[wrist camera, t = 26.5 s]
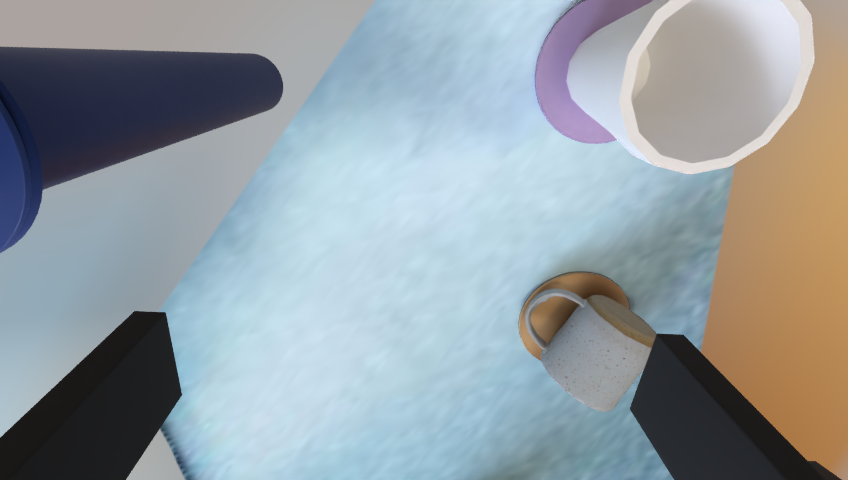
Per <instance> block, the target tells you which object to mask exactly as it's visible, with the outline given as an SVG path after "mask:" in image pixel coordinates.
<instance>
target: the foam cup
mask: <svg viewBox="0 0 848 480" xmlns="http://www.w3.org/2000/svg"><path fill="white" fill-rule="evenodd" d="M814 61H815V58H814V44H813V30H812V16H811V14H810V13H809V12H808V10H807V9H806V8H805V6H804V5H803V3H802V2H801V1H800V0H653V1H652V2H650V3H649V4H647V5H645V6H643V7H641V8H639V9H637V10H635V11H633V12H632V13H630V14H628V15H626V16H624V17H622V18H620V19H618V20H616V21H615V22H613V23H611V24H609V25H607V26H605V27H603V28H601V29H599V30H598V31H596V32H595V33H594V34H592V35H591V36H590V37H588V38H587V39H586V40H584V41H583V42H582V43H580V44H579V46H578V48H577V49H576V51H575V53H574V54H573V56H572V58H571V60H570V61H569V66H568V73H567V80H566V82H567V85H568V89H569V92H570V96H571V99H572V100H573V101H574V102H575V103H576V104H577V105H578V106H579V107H580V108H581V109H582V110H583V111H584V112H585V113H587V114H588V115H589V116H590V117H592V118H593V119H594V120H595V121H597V122H598V123H599V124H600V125H601V126H603V127H604V128H605V129H606V130H608V131H609V132H610V133H611V134H612V135H613V136H614V137H615V138H616V139H617V140H618V141H619V142H620V143H621V144H622V145H623V146H624V147H625V148H626V149H627V150H628V151H629V152H630V153H631V154H632V155H633V156H634V157H637V158H639V159H641V160H643V161H645V162H648V163H650V164H652V165H655V166H658V167H662V168H666V169H670V170H673V171H677V172H681V173H685V174H688V175H690V174H695V173H700V172H706V171H711V170H716V169H721V168H726V167H730V166H732V165H733V164H735V163H736V162H738V161H739V160H741V159H743V158H744V157H746V156H748V155H749V154H751V153H752V152H754V151H756V150H757V149H759V148H760V147H762V146H763V145H765V144H767V143H768V142H769V141H770V140H771V138H772V137H773V136H774V135H775V134H776V132H777V131H778V130H779V129H780V128H781V126H782V125H783V124H784V123H785V121H786V120H787V119H788V118H789V117H790V115H791V114H792V113H793V112H794V110H795V109H796V108H797V107H798V106H799V103H800V100H801V97H802V94H803V92H804V89H805V86H806V83H807V81H808V78H809V75H810V72H811V69H812V66H813V64H814Z"/></svg>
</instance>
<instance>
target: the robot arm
mask: <svg viewBox="0 0 848 480" xmlns="http://www.w3.org/2000/svg"><path fill="white" fill-rule="evenodd" d="M181 396H182V393H181V388H180V383H179V378H178V373H177V368H176V362H175V357H174V352H173V347H172V342H171V337H170V332H169V327H168V322H167V317H166V313H165V312H139V311H134V312H133V313H132V314H131V315H130V316H129V317H128V318H127V319H126V320H125V321H124V322H123V323H122V324H121V325H119V326H118V327H117V328H116V329H115V330H114V331H113V332H112V333H111V334H110V335H109V336H108V337H107V338H106V339H105V340H103V341H102V342H101V343H100V344H99V345H98V346H97V347H96V348H95V349H94V350H93V351H92V352H91V353H90V354H89V355H88V356H87V357H85V358H84V359H83V360H82V361H81V362H80V363H79V364H78V365H77V366H76V367H75V368H74V369H73V370H72V371H71V372H70V373H68V374H67V375H66V376H65V377H64V378H63V379H62V380H61V381H60V382H59V383H58V384H57V385H56V386H55V387H54V388H53V389H51V391H49V392H48V393H47V394H46V395H45V396H44V397H43V398H42V399H41V400H40V401H39V402H38V403H37V404H36V405H34V407H32V408H31V409H30V410H29V411H28V412H27V413H26V414H25V415H24V416H23V417H22V418H21V419H20V420H19V421H18V422H16V423H15V424H14V425H13V426H12V427H11V428H10V429H9V430H8V431H7V432H6V433H5V434H4V435H3V436H2V437H1V438H0V480H126V478H127V477H128V476H129V474H130V473H131V471H132V470H133V468H134V466H135V465H136V463H137V462H138V461H139V459H140V458H141V456H142V455H143V453H144V451H145V450H146V448H147V447H148V445H149V444H150V442H151V441H152V439H153V438H154V436H155V435H156V433H157V432H158V430H159V429H160V427H161V426H162V424H163V423H164V421H165V420H166V418H167V417H168V415H169V414H170V412H171V411H172V409H173V408H174V406H175V405H176V403H177V402H178V400H179V399H180V397H181ZM630 410H631V412H632V413H633V415H634V416H635V418H636V420H637V421H638V423H639V424H640V426H641V428H642V429H643V431H644V432H645V434H646V436H647V437H648V439H649V440H650V442H651V443H652V445H653V447H654V448H655V450H656V451H657V453H658V455H659V456H660V458H661V459H662V461H663V463H664V464H665V466H666V467H667V469H668V471H669V472H670V474H671V475H672V477H673V479H674V480H841V479H840V478H838V477H837V476H836V475H834V474H833V473H831V472H830V471H829V470H827V469H826V468H824V467H823V466H822V465H820V464H819V463H817V462H816V461H807V460H806V459H805V458H804V457H803V456H802V455H801V454H800V453H799V452H798V451H797V450H796V449H795V448H794V447H793V446H792V445H791V444H790V443H789V442H788V441H787V440H786V439H785V438H784V437H783V436H782V435H781V434H780V433H779V432H778V431H777V430H776V429H775V428H774V427H773V426H772V425H771V424H770V422H769V421H768V420H767V419H766V418H765V417H764V416H763V415H762V414H761V413H760V412H759V411H757V409H756V408H755V407H754V406H753V405H752V404H751V403H750V402H749V401H748V400H747V399H746V398H745V397H744V396H743V395H742V394H741V393H740V392H739V391H738V390H737V389H736V388H735V387H734V386H733V385H732V384H731V383H730V382H729V381H728V380H727V379H726V378H725V377H724V376H723V375H722V374H721V373H720V372H719V371H718V370H717V369H716V368H715V367H714V366H713V365H712V364H711V363H710V362H709V361H708V359H706V358H705V356H704V355H703V354H702V353H701V352H700V351H699V350H698V349H697V348H696V347H695V346H694V345H693V344H692V343H691V342H690V341H689V340H688V339H687V338H686V337H685V336H684V335H674V334H657V335H656V337H655V340H654V343H653V346H652V349H651V351H650V354H649V357H648V360H647V362H646V365H645V368H644V371H643V374H642V376H641V379H640V382H639V385H638V388H637V390H636V393H635V396H634V399H633V401H632V404H631V407H630Z"/></svg>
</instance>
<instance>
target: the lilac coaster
mask: <svg viewBox="0 0 848 480" xmlns="http://www.w3.org/2000/svg"><path fill="white" fill-rule="evenodd" d="M650 2H652V1H651V0H584V1H583V2H581V3H579V4H577V5H576V6H574V7H573V8H572V9H570V10H569V11H568V12H567V13H566V14H565V15H564V16H563V17H562V18H560V20H559V21H558V22H557V23H556V24H555V26H554V27H553V28H552V30H551V31H550V33H549V34H548V36H547V38H546V40H545V42H544V44H543V46H542V48H541V51H540V54H539V57H538V61H537V65H536V73H535V87H536V94H537V98H538V102H539V105H540V107H541V110H542V112H543V114H544V115H545V117H546V119H547V120H548V121H549V122H550V124H551V125H552V126H553V127H554V128H555V129H556V130H558V131H559V132H560V133H562V134H563V135H565V136H567V137H569V138H571V139H573V140H576V141H579V142H584V143H596V144H598V143H607V142H611V141H615V140H617V139H616V138H615V137H614V136H613V135H612V134H611V133H610V132H609V131H608V130H606V129H605V128H604V127H603V126H601V125H600V124H599V123H598V122H597V121H595V120H594V119H593V118H592V117H590V116H589V115H588V114H587V113H585V112H584V111H583V110H582V109H581V108H580V107H579V106H578V105H577V104H576V103H575V102H574V101H573V100H572V99H571V96H570V92H569V89H568V85H567V82H566V80H567V73H568V66H569V61H570V60H571V58H572V56H573V54H574V53H575V51H576V49H577V48H578V46H579V44H580V43H582V42H583V41H584V40H586V39H587V38H588V37H590V36H591V35H592V34H594V33H595V32H596V31H598V30H599V29H601V28H603V27H605V26H607V25H609V24H611V23H613V22H615V21H616V20H618V19H620V18H622V17H624V16H626V15H628V14H630V13H632V12H633V11H635V10H637V9H639V8H641V7H643V6H645V5H647V4H649V3H650Z"/></svg>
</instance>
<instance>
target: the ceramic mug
mask: <svg viewBox="0 0 848 480" xmlns="http://www.w3.org/2000/svg"><path fill="white" fill-rule="evenodd" d="M553 296H560V297H566V298H568V299H570V300H572V301H574V302H576V303H578V304H579V306H578V307H577V308H576V310H575V311H574V312H573V313H572V315H571V316H570V318H569V319H568V320H567V321H566V323H565V324H564V325H563V326H562V327H561V328H560V329H559V330H558V331H557V333H556V334H555V335H554V336H553V337H552V338H551V340H550V341H549V342H545V341H544V340H543V339H542V338H541V337H540V336H539V335H538V334H537V332H536V331H535V329H534V328H533V326H532V323H531V318H530V317H531V314H532V312H533V311H534V309H535V308H536V307H537V306H538V305H539V304H540V303H541V302H544V301H547V300H548V298H551V297H553ZM525 323H526V327H527V330H528V332H529V334H530V336H531V337H532V338H533V340H534V341H535V342H536V344H537V345H538V346H539V347H540V348H541V349H543V350H542V352H541V361H542V364H543V366H544V367H545V369H546V371H547V372H548V373H549V375H550V376H551V377H552V378H553V379H554V381H555V382H557V384H558V385H559V386H560V387H562V388H563V389H564V390H565V391H566V392H567V393H569V394H570V395H571V396H573V397H574V398H575V399H577V400H578V401H580V402H581V403H583V404H585V405H587V406H589V407H591V408H593V409H596V410H599V411H605V412H607V411H611V410H612V409H613V408H614V407H615V406H616V404H617V403H618V402H619V400H620V399H621V397H622V396H623V395H624V394H625V393H626V391H627V390H628V389H629V387H630V386H631V385H632V384H633V382H634V381H635V380H636V378H637V377H638V376H639V374H640V373H641V372H642V370H643V369H644V368H645V365H646V362H647V360H648V357H649V354H650V351H651V349H652V346H653V343H654V340H655V337H656V335H657V334H656V332H655V331H654V330H653V329H652V328H651V327H650V326H649V325H648V324H647V323H646V322H645V321H644V320H643V319H641V318H640V317H639V316H638V315H636V314H635V313H633V312H632V311H631V310H629V309H628V308H626V307H625V306H623V305H621V304H620V303H618V302H616V301H614V300H612V299H610V298H608V297H605V296H603V295H592V296H590V297H588V298H587V299H582V298H581V297H580V296H578V295H577V294H575V293H573V292H570V291H567V290H564V289H557V288H556V289H548V290H545V291H543V292H541V293H539V294H538V295H536V296H535V297H534V299H533V300H532V301H531V302H530V304H529V306H528V308H527V310H526V314H525Z"/></svg>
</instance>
